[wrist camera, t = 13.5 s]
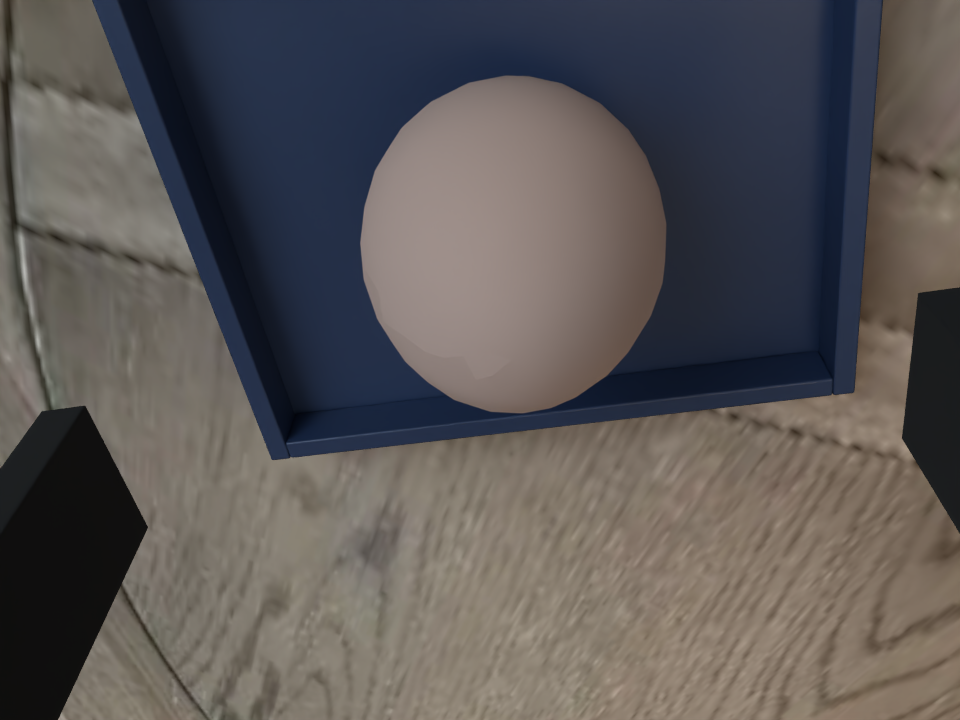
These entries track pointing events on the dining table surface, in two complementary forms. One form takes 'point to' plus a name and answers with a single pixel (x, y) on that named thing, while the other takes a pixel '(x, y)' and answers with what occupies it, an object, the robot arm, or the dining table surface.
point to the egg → (513, 243)
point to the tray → (484, 55)
